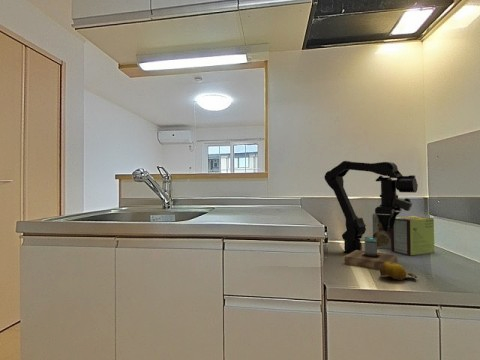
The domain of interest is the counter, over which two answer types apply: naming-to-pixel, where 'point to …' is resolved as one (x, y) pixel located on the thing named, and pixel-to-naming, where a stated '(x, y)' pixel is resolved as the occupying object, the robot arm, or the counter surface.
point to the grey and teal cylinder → (371, 247)
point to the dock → (368, 259)
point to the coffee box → (381, 233)
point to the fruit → (394, 271)
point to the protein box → (413, 235)
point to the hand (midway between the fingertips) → (389, 229)
